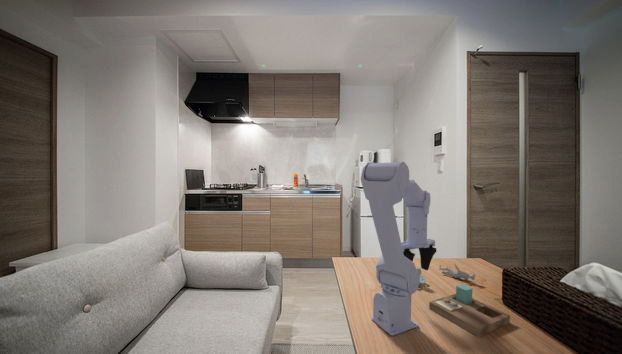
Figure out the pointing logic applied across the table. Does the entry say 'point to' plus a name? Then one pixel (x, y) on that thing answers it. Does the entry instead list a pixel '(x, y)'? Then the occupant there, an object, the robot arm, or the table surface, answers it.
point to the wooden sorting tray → (470, 315)
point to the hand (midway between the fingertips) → (416, 271)
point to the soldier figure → (457, 273)
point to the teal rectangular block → (464, 294)
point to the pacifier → (421, 277)
